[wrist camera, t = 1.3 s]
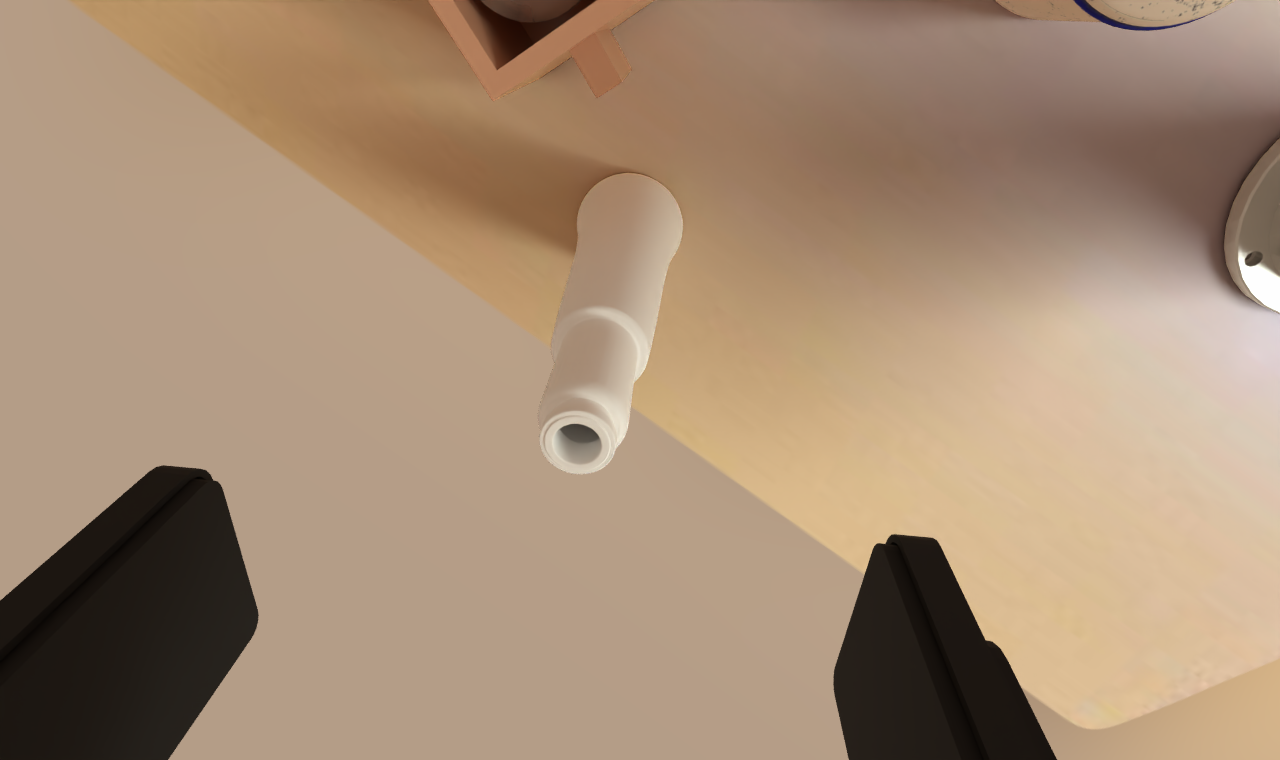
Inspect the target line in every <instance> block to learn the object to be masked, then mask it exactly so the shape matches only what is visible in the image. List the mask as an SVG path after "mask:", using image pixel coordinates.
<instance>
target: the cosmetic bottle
mask: <svg viewBox="0 0 1280 760" xmlns="http://www.w3.org/2000/svg"><path fill="white" fill-rule="evenodd" d="M577 233H578V241H577V247H576V252H575V256H574V260H573V263H572V267H571V270H570V273H569V277H568V280H567V283H566V287H565V290H564V293H563V297H562V301H561V304H560V308H559V311H558V315H557V319H556V323H555V327H554V332H553V336H552V341H551V353H552V357H553V361H554V363H555V364H554V367H553V369H552V372H551V375H550V378H549V380H548V383H547V386H546V389H545V391H544V394H543V397H542V400H541V402H540V406H539V410H538V424H539V428H540V435H539V443H540V448H541V450H542V453H543V454H544V456H545V458H546V459H547V460H548V461H549V462H550V463H551V464H552V465H554V466H555V467H557V468H559V469H560V470H563V471H565V472H568V473H572V474H588V473H593V472H596V471H598V470H600V469H602V468H603V467H604V466H606V465H607V464H608V463H609V462H610V461H611V459H612V457H613V456H614V453H615V449H616V448H617V447H618V446H619V444H620V443H621V442H622V440H623V439H624V437H625V434H626V432H627V429H628V424H629V416H630V409H631V401H632V393H633V386H634V382H635V381H636V380H637V379H638V378H639V377H640V376H641V375H642V373H643V371H644V370H645V368H646V365H647V362H648V358H649V354H650V350H651V346H652V342H653V337H654V333H655V328H656V323H657V318H658V312H659V307H660V302H661V296H662V291H663V287H664V282H665V277H666V273H667V269H668V266H669V264H670V261H671V259H672V258H673V257H674V255H675V253H676V252H677V250H678V248H679V245H680V242H681V239H682V234H683V220H682V215H681V211H680V208H679V206H678V204H677V201H676V200H675V198H674V197H673V195H672V194H671V193H670V191H669V190H668V189H667V188H666V187H665V186H663V185H662V184H661V183H659V182H658V181H656V180H654V179H652V178H650V177H648V176H645V175H641V174H636V173H621V174H616V175H613V176H610V177H607V178H605V179H603V180H602V181H600V182H599V183H597V184H596V185H595V186H594V187H592V188H591V190H590V191H589V192H588V193H587V194H586V196H585V197H584V199H583V201H582V203H581V205H580V208H579V212H578V216H577Z"/></svg>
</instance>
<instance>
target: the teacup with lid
mask: <svg viewBox="0 0 1280 760" xmlns="http://www.w3.org/2000/svg"><path fill="white" fill-rule="evenodd" d="M995 1H996V2H998V3H999V4H1000V5H1001V6H1003V7H1004V8H1005V9H1007V10H1009V11H1011V12H1012V13H1014V14H1017V15H1020V16H1022V17H1026V18H1030V19H1037V20H1057V21H1089V22H1103V23H1106V24H1108V25H1111V26H1114V27H1118V28H1122V29H1129V30H1144V31H1149V30H1160V29H1166V28H1171V27H1176V26H1180V25H1183V24H1187V23H1190V22H1192V21H1195V20H1198V19H1200V18H1203V17H1205V16H1207V15H1209V14H1211V13H1213V12H1215V11H1217V10H1219V9H1221V8H1223V7H1225V6H1226V5H1228V4H1230V3H1232V2H1233V1H1235V0H995Z"/></svg>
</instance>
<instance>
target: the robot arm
mask: <svg viewBox="0 0 1280 760" xmlns="http://www.w3.org/2000/svg"><path fill="white" fill-rule="evenodd" d="M1224 251H1225V258H1226V265H1227V267H1228V270H1229V272H1230V274H1231V277H1232V279H1233V281H1234V282H1235V284H1236V285H1237V286H1238V287H1239V288H1240V290H1241V291H1242V292H1243V293H1244V294H1245V295H1246V296H1248V297H1249V298H1250V299H1252V300H1253V301H1255V302H1256V303H1258V304H1259V305H1261V306H1264V307H1266V308H1268V309H1270V310H1272V311H1274V312H1276V313H1278V314H1280V138H1279V139H1278V140H1277V141H1276V142H1275V143H1274V144H1273V145H1272V146H1271V148H1270V149H1269V150H1268V151H1267V152H1266V153H1265V154H1264V155H1263V156H1262V157H1261V158H1260V160H1259V161H1258V163H1257V164H1256V165H1255V167H1254V168H1253V170H1252V171H1251V172H1250V174H1249V175H1248V176H1247V178H1246V179H1245V181H1244V183H1243V185H1242V187H1241V189H1240V191H1239V192H1238V194H1237V196H1236V198H1235V200H1234V202H1233V205H1232V208H1231V211H1230V214H1229V218H1228V221H1227V224H1226V230H1225V240H1224ZM257 623H258V609H257V606H256V602H255V599H254V596H253V592H252V589H251V585H250V582H249V578H248V575H247V572H246V568H245V564H244V561H243V558H242V555H241V551H240V547H239V544H238V541H237V537H236V533H235V530H234V527H233V523H232V520H231V517H230V513H229V509H228V506H227V502H226V499H225V496H224V492H223V489H222V487H221V485H220V484H219V483H218V482H217V481H213V479H212V477H211V475H210V474H209V473H208V472H207V471H206V470H203V469H196V468H185V467H174V466H159V467H156V468H154V469H153V470H151V471H150V472H148V473H147V474H146V475H145V476H144V477H143V478H142V479H140V480H139V481H138V482H137V483H136V484H134V485H133V486H132V487H131V488H130V489H129V490H128V491H126V492H125V493H124V494H123V495H122V496H121V497H119V498H118V499H117V500H116V501H115V502H114V503H113V504H111V505H110V506H109V507H108V508H107V509H106V510H105V511H103V512H102V513H101V514H100V515H99V516H98V517H96V518H95V519H94V520H93V521H92V522H91V523H89V524H88V525H87V526H86V527H85V528H84V529H82V530H81V531H80V532H79V533H78V534H77V535H76V536H74V537H73V538H72V539H71V540H70V541H69V542H67V543H66V544H65V545H64V546H63V547H62V548H61V549H59V550H58V551H57V552H56V553H55V554H54V555H52V556H51V557H50V558H49V559H48V560H47V561H45V563H43V564H42V565H41V566H40V567H39V568H37V569H36V570H35V571H34V572H33V573H32V574H31V575H29V576H28V577H27V578H26V579H25V580H24V581H22V582H21V583H20V584H19V585H18V586H17V587H15V588H14V589H13V590H12V591H11V592H10V593H9V594H8V595H6V596H5V597H4V598H3V599H2V600H0V760H168V759H169V757H170V756H171V754H172V753H173V752H174V750H175V749H176V747H177V746H178V744H179V743H180V742H181V740H182V739H183V737H184V736H185V734H186V733H187V731H188V730H189V728H190V727H191V725H192V724H193V723H194V721H195V720H196V718H197V717H198V715H199V714H200V712H201V711H202V710H203V708H204V707H205V705H206V704H207V702H208V701H209V699H210V698H211V696H212V695H213V693H214V692H215V691H216V689H217V688H218V686H219V685H220V683H221V682H222V680H223V679H224V678H225V676H226V675H227V673H228V672H229V670H230V669H231V667H232V666H233V664H234V663H235V662H236V660H237V659H238V657H239V656H240V654H241V653H242V651H243V650H244V648H245V647H246V645H247V644H248V643H249V641H250V640H251V638H252V636H253V635H254V632H255V630H256V627H257ZM834 693H835V698H836V703H837V708H838V712H839V717H840V721H841V726H842V731H843V735H844V740H845V744H846V748H847V753H848V758H849V760H1057V759H1056V757H1055V755H1054V753H1053V751H1052V749H1051V747H1050V745H1049V743H1048V741H1047V739H1046V737H1045V735H1044V733H1043V731H1042V729H1041V727H1040V725H1039V723H1038V721H1037V719H1036V717H1035V715H1034V713H1033V711H1032V709H1031V707H1030V705H1029V703H1028V701H1027V698H1026V696H1025V694H1024V692H1023V690H1022V688H1021V686H1020V684H1019V682H1018V680H1017V678H1016V676H1015V674H1014V672H1013V670H1012V668H1011V666H1010V664H1009V662H1008V660H1007V658H1006V657H1005V655H1004V654H1003V652H1002V651H1001V649H1000V648H999V647H998V646H997V645H996V644H994V643H993V642H992V641H986V640H985V638H984V636H983V634H982V632H981V630H980V628H979V626H978V624H977V622H976V620H975V617H974V615H973V613H972V611H971V609H970V607H969V605H968V603H967V601H966V599H965V597H964V594H963V592H962V590H961V588H960V586H959V584H958V582H957V580H956V578H955V576H954V573H953V571H952V569H951V567H950V565H949V563H948V561H947V559H946V557H945V555H944V552H943V550H942V548H941V546H940V545H939V543H938V542H937V540H935V539H934V538H928V537H917V536H907V535H896V534H894V535H891V536H890V537H889V538H888V540H887V542H886V544H880V543H879V544H876V545H875V546H874V548H873V551H872V554H871V557H870V560H869V563H868V566H867V569H866V572H865V576H864V579H863V582H862V585H861V588H860V591H859V594H858V598H857V600H856V604H855V607H854V610H853V613H852V616H851V619H850V622H849V626H848V628H847V632H846V635H845V638H844V641H843V644H842V647H841V650H840V653H839V657H838V660H837V663H836V666H835V670H834Z"/></svg>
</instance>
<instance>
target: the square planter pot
mask: <svg viewBox="0 0 1280 760" xmlns="http://www.w3.org/2000/svg"><path fill="white" fill-rule="evenodd" d="M428 1H429V3H430V4H431V6H432V7H433V9H434V11H435V12H436V14H437V15H438V17H439V18H440V20H441V21H442V23H443V25H444V26H445V28H446V29H447V31H448V32H449V34H450V35H451V37H452V39H453V40H454V42H455V43H456V45H457V46H458V48H459V49H460V51H461V53H462V54H463V56H464V57H465V59H466V60H467V62H468V64H469V65H470V67H471V68H472V70H473V71H474V73H475V74H476V76H477V78H478V79H479V81H480V82H481V84H482V85H483V87H484V88H485V90H486V92H487V93H488V95H489V96H490V98H491V99H492V101H494V100H497V99H499V98H501V97H503V96H505V95H507V94H509V93H511V92H513V91H515V90H517V89H519V88H521V87H523V86H525V85H527V84H529V83H531V82H533V81H536V80H538V79H540V78H541V77H543V76H544V75H546V74H547V73H549V72H550V71H552V70H553V69H555V68H556V67H558V66H559V65H560V64H562V63H563V62H565V61H566V60H568V59H569V58H571V57H573V58H574V60H575V62H576V64H577V65H578V67H579V69H580V71H581V72H582V74H583V76H584V77H585V79H586V81H587V83H588V84H589V86H590V88H591V90H592V91H593V93H594V95H595V97H596V98H598V97H600V96H601V95H603V94H604V93H606V92H607V91H609V90H610V89H612V88H613V87H615V86H616V85H618V84H619V83H621V82H622V81H623V80H624V79H625V78H626V77H627V75H628V74H629V73H630V72H631V71H632V68H631V67H630V65H629V63H628V61H627V59H626V57H625V56H624V54H623V52H622V50H621V48H620V46H619V45H618V43H617V41H616V39H615V37H614V35H613V34H612V32H611V30H612V29H613V28H615V27H616V26H618V25H619V24H621V23H622V22H624V21H625V20H627V19H628V18H630V17H631V16H632V15H634V14H635V13H637V12H638V11H640V10H641V9H643V8H644V7H646V6H647V5H649V4H650V3H652V2H653V1H655V0H581V1H580V3H579V4H578V5H577V6H575V7H574V8H573V9H572V10H570V11H569V12H567V13H566V14H564V15H562V16H560V17H558V18H555V19H552V20H548V21H543V22H520V21H516V20H512V19H509V18H506V17H504V16H502V15H500V14H498V13H496V12H494V11H493V10H492V9H490V8H489V7H487V6H486V5H485V4H484V3H483V2H482V1H481V0H428Z"/></svg>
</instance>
